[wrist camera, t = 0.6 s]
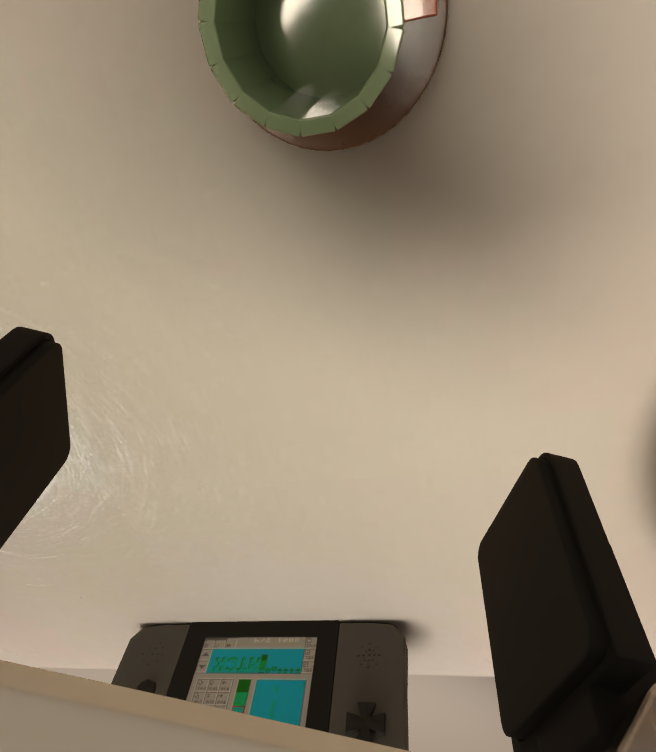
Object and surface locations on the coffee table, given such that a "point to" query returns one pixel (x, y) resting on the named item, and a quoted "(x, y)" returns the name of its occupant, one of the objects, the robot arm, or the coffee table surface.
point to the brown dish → (389, 88)
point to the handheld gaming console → (281, 673)
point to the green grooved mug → (305, 56)
